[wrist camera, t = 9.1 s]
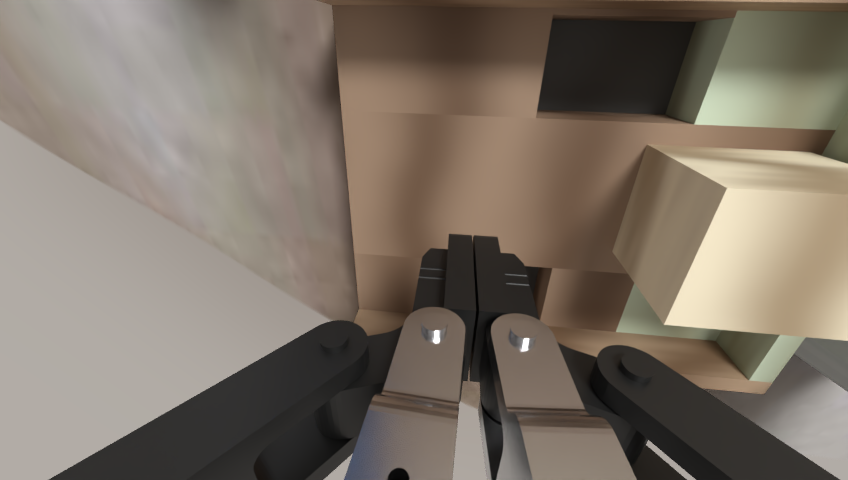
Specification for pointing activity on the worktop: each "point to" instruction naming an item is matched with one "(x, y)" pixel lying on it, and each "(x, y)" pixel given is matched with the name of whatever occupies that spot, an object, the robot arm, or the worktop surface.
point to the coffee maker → (826, 358)
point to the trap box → (570, 144)
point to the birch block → (740, 240)
